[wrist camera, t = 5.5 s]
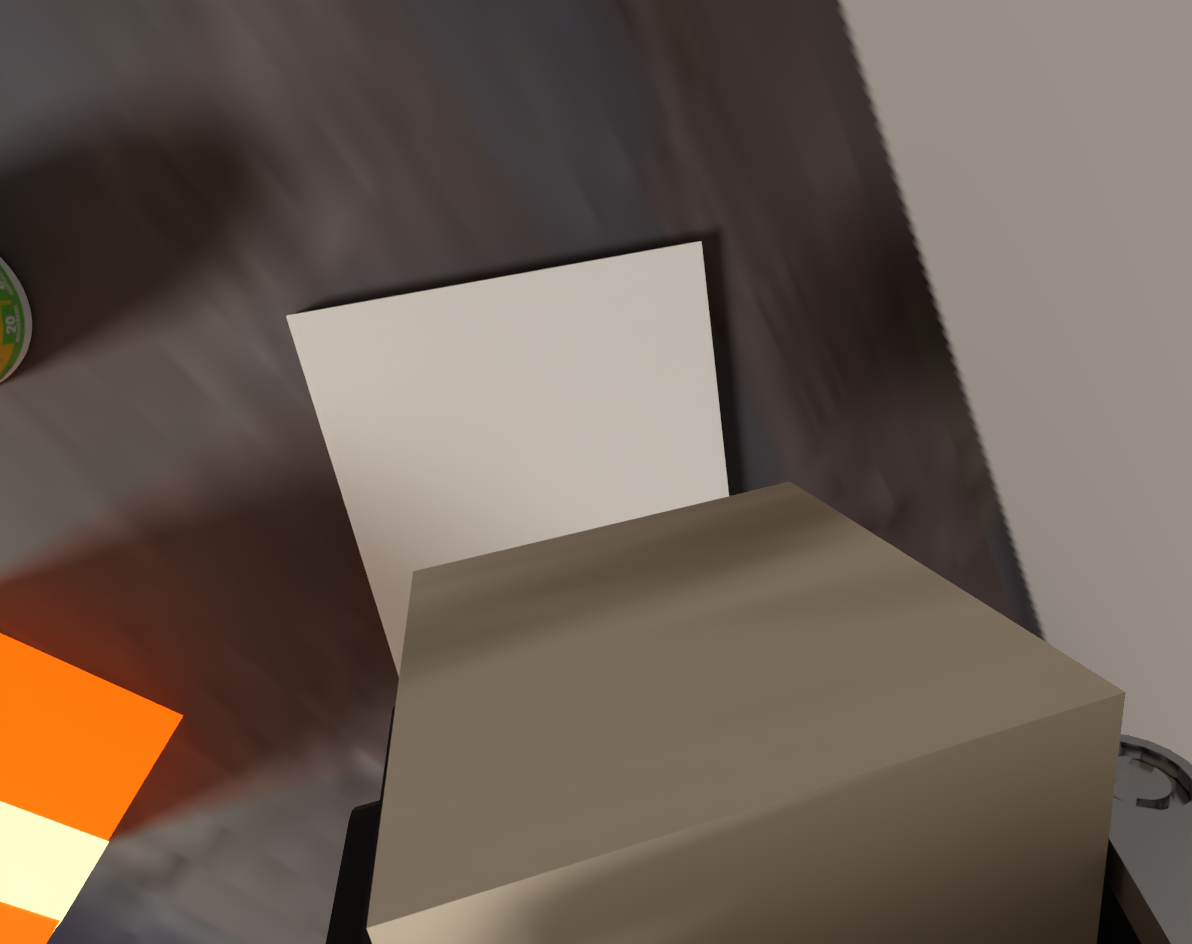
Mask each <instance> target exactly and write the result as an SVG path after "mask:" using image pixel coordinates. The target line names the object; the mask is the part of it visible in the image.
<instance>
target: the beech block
mask: <svg viewBox="0 0 1192 944" xmlns="http://www.w3.org/2000/svg"><path fill="white" fill-rule="evenodd" d="M1124 699H1125V692H1124V691H1123V690H1121V689H1119V688H1118V687H1116V686H1115V685H1113V684H1111V683H1110V682H1108V681H1107V680H1105V679H1103V678H1102V677H1100V676H1098V675H1097V674H1095V673H1094V672H1092V671H1091V670H1089V669H1087V668H1086V667H1084V666H1083V665H1081V664H1080V663H1078V662H1076V661H1075V660H1073V659H1072V658H1070V657H1068V656H1067V655H1065V654H1064V653H1062V652H1060V651H1059V650H1057V649H1056V648H1054V647H1052V646H1051V645H1049V644H1048V643H1046V642H1045V641H1043V640H1041V639H1040V638H1038V637H1037V636H1035V635H1033V634H1032V633H1030V632H1029V631H1027V630H1025V629H1024V628H1022V627H1021V626H1019V625H1017V624H1016V623H1014V622H1013V621H1011V620H1010V619H1008V618H1006V617H1005V616H1003V615H1002V614H1000V613H998V612H997V611H995V610H994V609H992V608H990V607H989V606H987V605H986V604H984V603H982V602H981V601H979V600H978V599H976V598H974V597H973V596H971V595H970V594H968V593H967V592H965V591H963V590H962V589H960V588H959V587H957V586H955V585H954V584H952V583H951V582H949V581H947V580H946V579H944V578H943V577H941V576H939V575H938V574H936V573H935V572H933V571H932V570H930V569H928V568H927V567H925V566H924V565H922V564H920V563H919V562H917V561H916V560H914V559H912V558H911V557H909V556H908V555H906V554H904V553H903V552H901V551H900V550H898V549H897V548H895V547H893V546H892V545H890V544H889V543H887V542H885V541H884V540H882V539H881V538H879V537H877V536H876V535H874V534H873V533H871V532H869V531H868V530H866V529H865V528H863V527H861V526H860V525H858V524H857V523H855V522H854V521H852V520H850V519H849V518H847V517H846V516H844V515H842V514H841V513H839V512H838V511H836V510H834V509H833V508H831V507H830V506H828V505H826V504H825V503H823V502H822V501H820V500H819V499H817V498H815V497H814V496H812V495H811V494H809V493H807V492H806V491H804V490H803V489H801V488H799V487H798V486H796V485H795V484H793V483H791V482H787V483H783V484H779V485H775V486H770V487H766V488H762V489H758V490H753V491H749V492H745V493H741V494H737V495H732V496H728V497H724V498H720V499H716V500H711V501H707V502H703V503H699V504H695V505H690V506H686V507H682V508H678V509H673V510H669V511H665V512H661V513H657V514H652V515H648V516H644V517H640V518H636V519H631V520H627V521H623V522H619V523H615V524H610V525H606V526H602V527H598V528H593V529H589V530H585V531H581V532H577V533H572V534H568V535H564V536H560V537H556V538H551V539H547V540H543V541H539V542H535V543H530V544H526V545H522V546H518V547H513V548H509V549H505V550H501V551H497V552H492V553H488V554H484V555H480V556H476V557H471V558H467V559H463V560H459V561H455V562H450V563H446V564H442V565H438V566H433V567H429V568H425V569H421V570H417V571H413V575H412V583H411V591H410V598H409V606H408V614H407V621H406V629H405V637H404V644H403V652H402V660H401V667H400V675H399V683H398V690H397V698H396V706H395V713H394V721H393V729H392V736H391V744H390V752H389V759H388V767H387V774H386V782H385V790H384V797H383V805H382V813H381V820H380V828H379V836H378V843H377V851H376V859H375V866H374V874H373V882H372V889H371V897H370V905H369V912H368V920H367V928H366V929H367V931H368V934H369V936H370V939H371V942H372V944H1097V936H1098V927H1099V918H1100V910H1101V901H1102V892H1103V883H1104V874H1105V866H1106V857H1107V848H1108V839H1109V831H1110V822H1111V813H1112V804H1113V796H1114V787H1115V778H1116V769H1117V760H1118V752H1119V743H1120V733H1121V725H1122V717H1123V708H1124Z"/></svg>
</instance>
